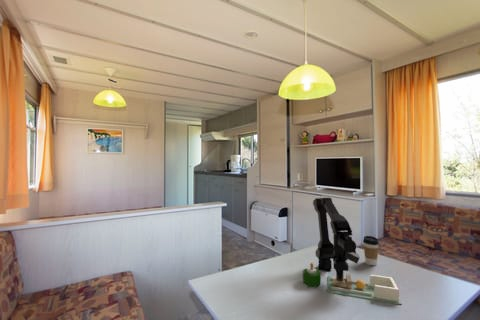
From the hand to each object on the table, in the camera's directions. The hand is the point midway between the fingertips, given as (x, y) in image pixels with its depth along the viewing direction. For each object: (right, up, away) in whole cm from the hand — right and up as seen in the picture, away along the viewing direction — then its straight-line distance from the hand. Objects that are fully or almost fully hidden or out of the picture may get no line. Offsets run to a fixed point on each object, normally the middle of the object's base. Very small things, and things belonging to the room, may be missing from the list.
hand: (339, 277), depth 116 cm
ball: (+8, -2, -3) cm, 9 cm away
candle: (-13, -5, +3) cm, 14 cm away
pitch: (+9, -4, -3) cm, 11 cm away
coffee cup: (+29, -5, +26) cm, 39 cm away
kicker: (+1, -4, 0) cm, 4 cm away
